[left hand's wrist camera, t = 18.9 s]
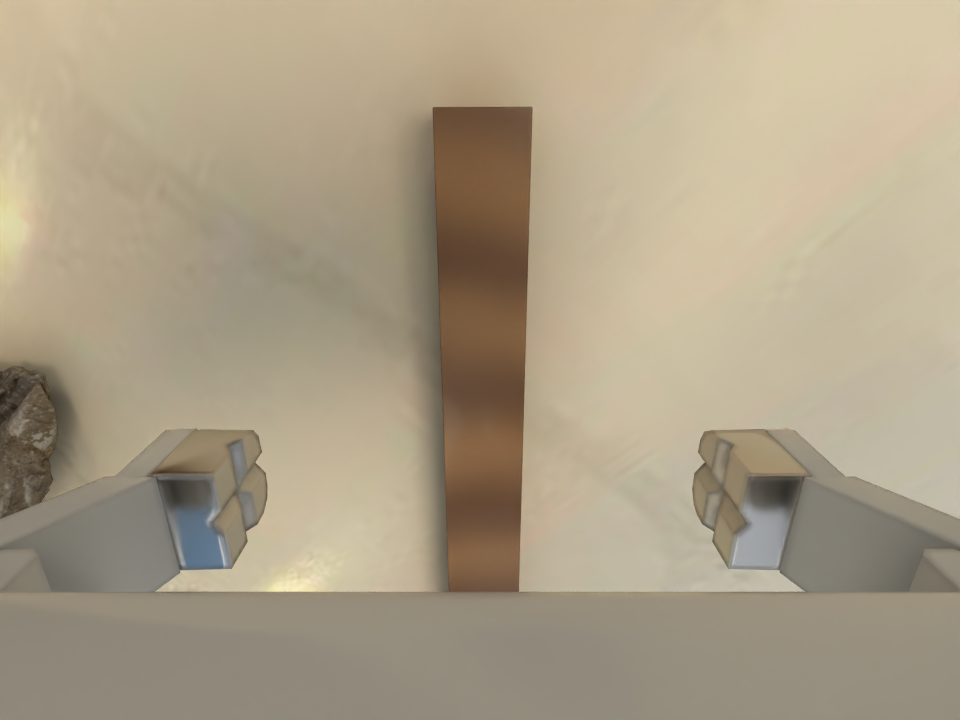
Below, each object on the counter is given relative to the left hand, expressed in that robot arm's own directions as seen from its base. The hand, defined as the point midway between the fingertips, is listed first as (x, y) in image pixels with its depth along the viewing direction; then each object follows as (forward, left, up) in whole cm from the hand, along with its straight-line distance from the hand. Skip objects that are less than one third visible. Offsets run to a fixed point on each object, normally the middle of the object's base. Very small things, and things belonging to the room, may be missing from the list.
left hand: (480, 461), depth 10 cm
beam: (+18, -8, -31) cm, 37 cm away
